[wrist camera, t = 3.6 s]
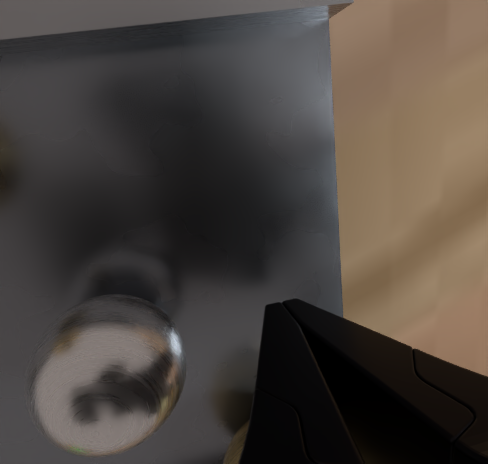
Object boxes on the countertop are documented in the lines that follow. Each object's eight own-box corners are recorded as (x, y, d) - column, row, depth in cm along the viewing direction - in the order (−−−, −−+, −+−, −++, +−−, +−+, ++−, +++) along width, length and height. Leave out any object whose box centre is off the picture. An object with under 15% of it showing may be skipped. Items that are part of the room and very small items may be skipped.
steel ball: (171, 259, 9) (170, 332, 6) (194, 362, 10) (204, 470, 7) (36, 286, 9) (-42, 381, 6) (76, 391, 10) (30, 520, 7)
